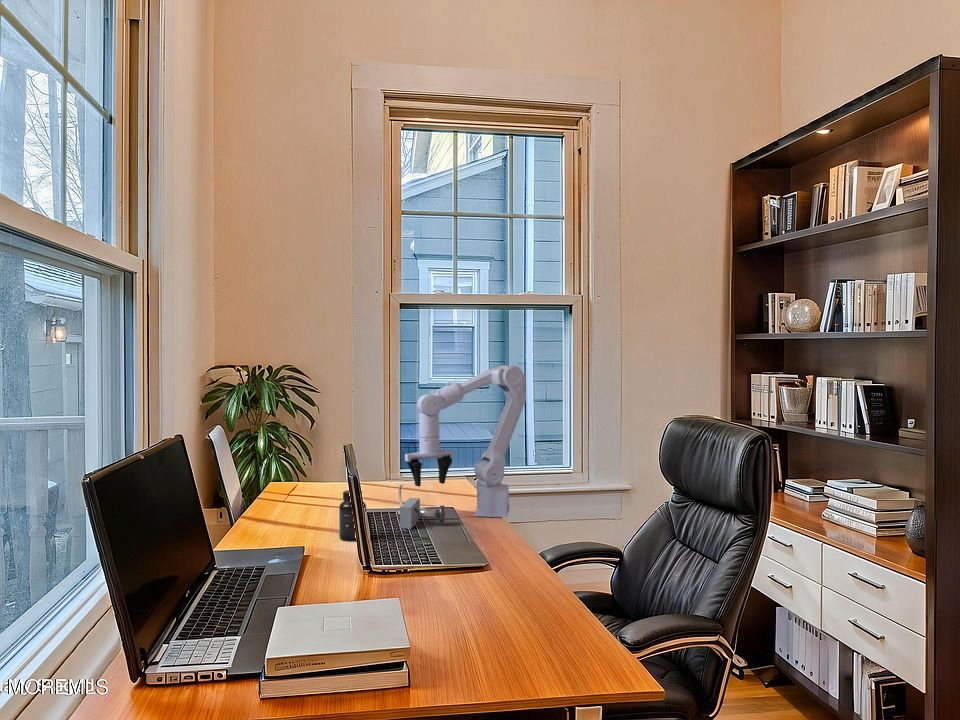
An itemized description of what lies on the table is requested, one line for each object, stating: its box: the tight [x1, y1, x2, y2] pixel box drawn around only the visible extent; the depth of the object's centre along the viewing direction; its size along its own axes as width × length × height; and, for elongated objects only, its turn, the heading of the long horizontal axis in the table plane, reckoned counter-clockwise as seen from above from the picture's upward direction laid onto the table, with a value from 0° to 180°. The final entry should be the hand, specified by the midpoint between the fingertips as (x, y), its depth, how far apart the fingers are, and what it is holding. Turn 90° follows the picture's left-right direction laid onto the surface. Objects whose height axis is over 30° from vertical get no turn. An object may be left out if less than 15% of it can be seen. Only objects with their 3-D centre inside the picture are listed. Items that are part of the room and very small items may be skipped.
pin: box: [414, 505, 446, 523], centre depth 202 cm, size 9×5×5 cm, turn 83°
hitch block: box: [399, 497, 421, 530], centre depth 203 cm, size 3×12×6 cm, turn 173°
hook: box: [397, 483, 425, 514], centre depth 221 cm, size 7×9×20 cm
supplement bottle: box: [338, 489, 367, 542], centre depth 188 cm, size 7×7×12 cm
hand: (430, 484), depth 208 cm, fingers open, 7 cm apart
